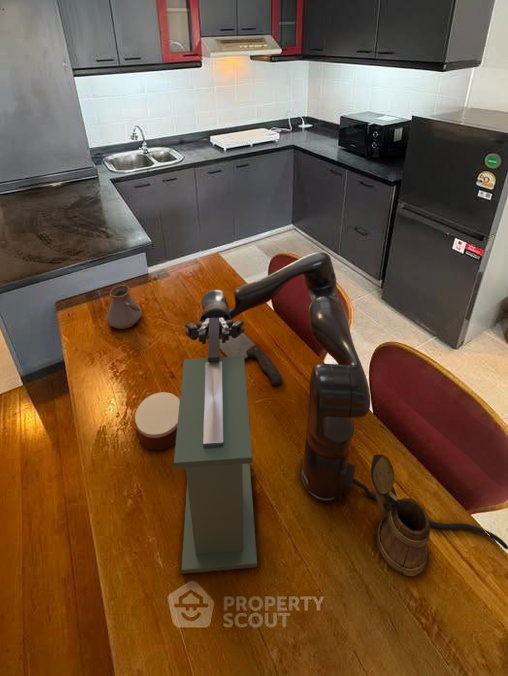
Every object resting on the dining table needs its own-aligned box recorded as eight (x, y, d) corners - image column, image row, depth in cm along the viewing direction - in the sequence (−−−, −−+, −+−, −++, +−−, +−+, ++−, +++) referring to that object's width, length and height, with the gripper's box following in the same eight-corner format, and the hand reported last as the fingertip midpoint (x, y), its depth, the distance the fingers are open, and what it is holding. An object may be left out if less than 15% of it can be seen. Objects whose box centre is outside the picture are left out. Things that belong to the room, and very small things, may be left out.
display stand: (189, 458, 89) (178, 359, 75) (248, 454, 90) (249, 355, 76) (182, 574, 70) (166, 470, 56) (257, 567, 71) (259, 463, 57)
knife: (207, 325, 84) (206, 318, 83) (221, 325, 84) (221, 317, 83) (203, 447, 59) (202, 438, 58) (223, 446, 60) (223, 437, 59)
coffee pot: (102, 319, 132) (95, 284, 125) (134, 305, 138) (128, 271, 132) (127, 356, 117) (120, 319, 110) (161, 339, 123) (156, 302, 117)
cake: (192, 417, 98) (191, 401, 96) (167, 459, 89) (164, 442, 86) (156, 402, 103) (154, 386, 100) (128, 439, 93) (125, 423, 91)
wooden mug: (373, 491, 83) (386, 438, 75) (434, 549, 74) (456, 496, 66) (348, 522, 78) (360, 469, 70) (411, 589, 68) (432, 537, 61)
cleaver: (288, 379, 109) (289, 374, 108) (262, 397, 104) (262, 391, 103) (230, 322, 130) (230, 317, 130) (206, 335, 125) (206, 330, 124)
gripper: (186, 306, 94) (178, 321, 77) (243, 303, 95) (247, 318, 78) (187, 337, 93) (179, 359, 76) (244, 334, 94) (249, 355, 77)
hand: (213, 338), depth 77 cm, fingers open, 3 cm apart
